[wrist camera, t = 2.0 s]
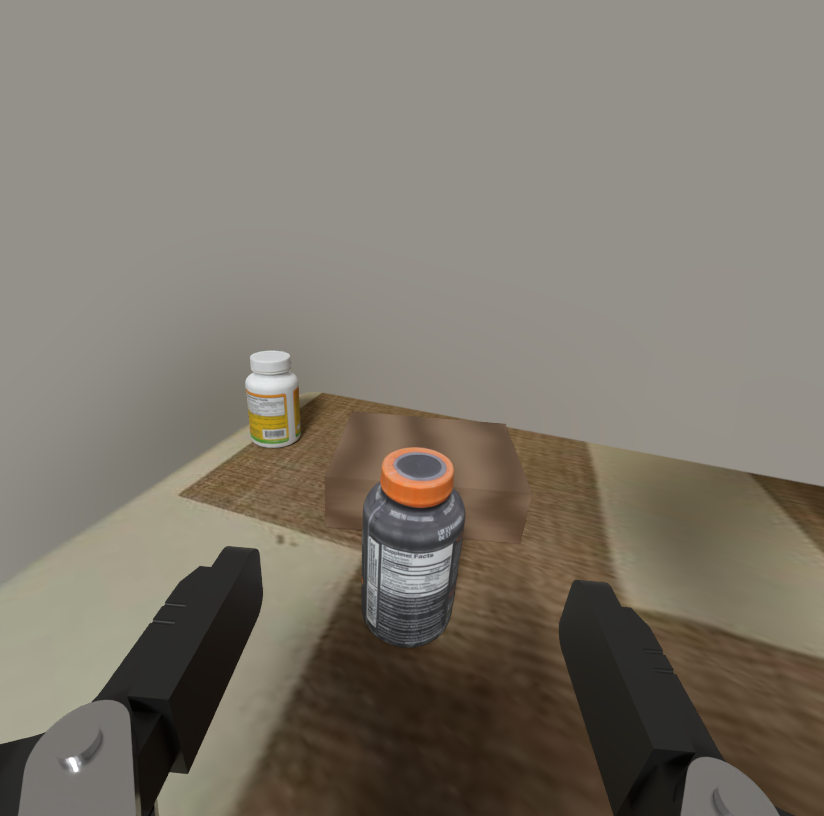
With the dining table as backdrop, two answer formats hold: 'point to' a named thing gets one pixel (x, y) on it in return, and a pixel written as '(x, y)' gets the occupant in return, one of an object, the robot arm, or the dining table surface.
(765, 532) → the dining table surface
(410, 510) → the pill bottle
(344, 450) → the stand
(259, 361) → the supplement bottle
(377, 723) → the dining table surface
